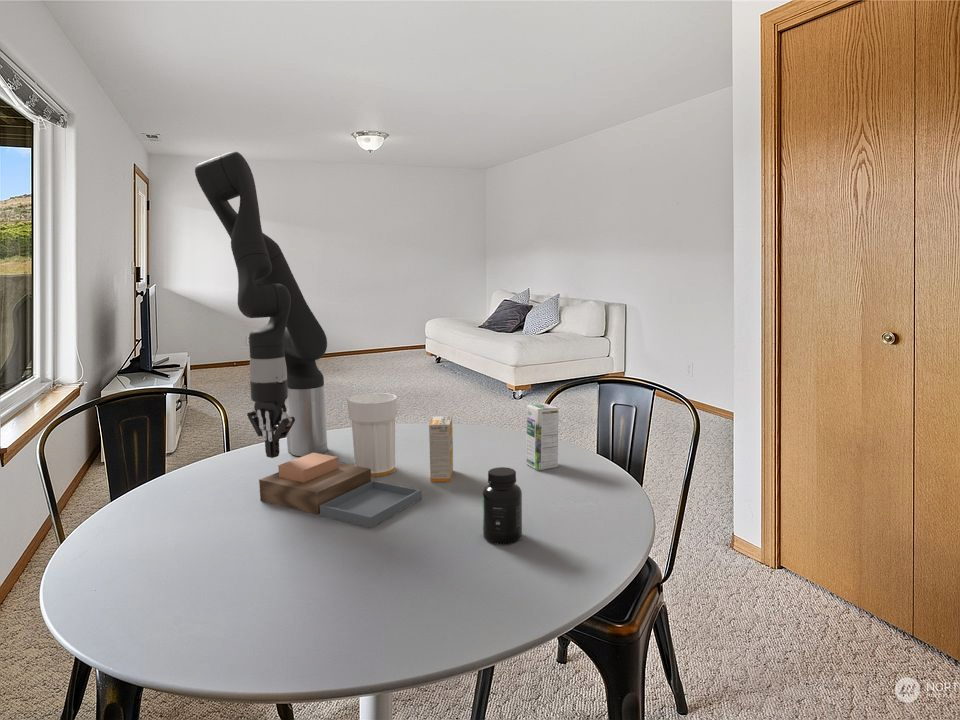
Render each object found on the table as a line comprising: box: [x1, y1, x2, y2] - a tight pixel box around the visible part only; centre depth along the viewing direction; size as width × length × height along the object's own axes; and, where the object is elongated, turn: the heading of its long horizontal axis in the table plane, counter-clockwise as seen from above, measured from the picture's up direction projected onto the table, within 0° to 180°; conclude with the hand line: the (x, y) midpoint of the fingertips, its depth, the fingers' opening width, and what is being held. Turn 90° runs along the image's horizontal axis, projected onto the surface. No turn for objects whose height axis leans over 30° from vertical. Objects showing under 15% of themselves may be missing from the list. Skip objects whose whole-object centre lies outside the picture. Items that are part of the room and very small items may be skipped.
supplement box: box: [428, 415, 454, 483], centre depth 143 cm, size 8×5×13 cm, turn 179°
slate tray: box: [319, 479, 422, 529], centre depth 127 cm, size 12×16×2 cm
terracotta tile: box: [277, 453, 339, 482], centre depth 134 cm, size 7×10×2 cm
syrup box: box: [525, 403, 560, 471], centre depth 150 cm, size 6×6×14 cm
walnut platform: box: [258, 462, 372, 516], centre depth 134 cm, size 16×16×4 cm
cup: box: [346, 392, 398, 478], centre depth 148 cm, size 11×11×17 cm
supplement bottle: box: [482, 466, 523, 545], centre depth 111 cm, size 7×7×12 cm
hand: (272, 456), depth 138 cm, fingers closed
